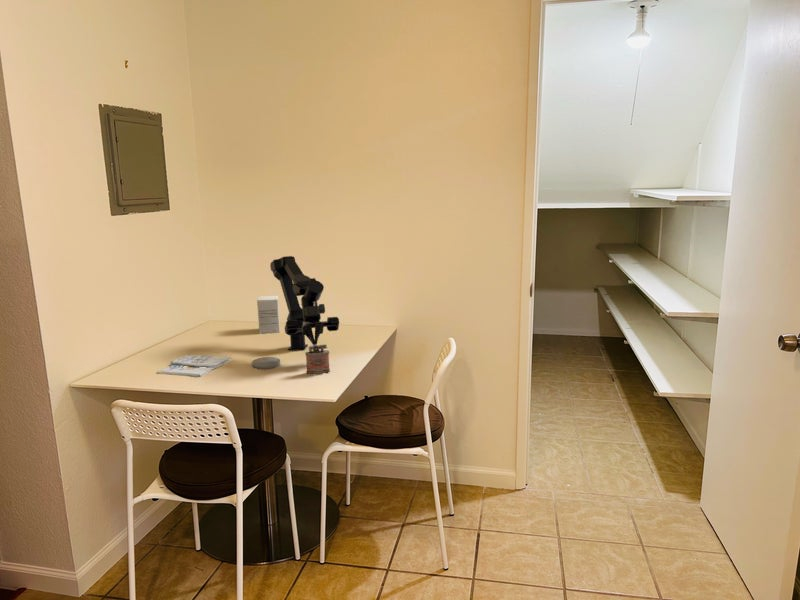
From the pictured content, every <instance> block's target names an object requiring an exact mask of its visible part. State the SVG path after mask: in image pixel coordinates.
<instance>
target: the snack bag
mask: <svg viewBox="0 0 800 600" xmlns="http://www.w3.org/2000/svg"><path fill="white" fill-rule="evenodd" d="M231 360H232V359H230V357H229V356H212V355H193V354H192V355H191V354H186V355H184V356H180V357H179V358H177V359H174V360H172V361H170V365H168V367H165V368H163V369H160V370H158V371H156V374H159V373H167V374H166V375H172V374H179V375H178V376H184V375H188V377H192V376H195V377H196V378H199V377H200V378H201V377H203V376H204V374H205V375H207V374H208V373H210V372H212V371H214V370H216V369H218V368H220V367H222V366H223V364H224V365H226V364H228V363H230V362H231ZM229 361H230V362H229ZM227 362H228V363H227ZM225 363H226V364H225ZM221 365H222V366H221ZM184 366H189V367H192V366H194V367H193V368H194V369H184V368H183V367H184ZM219 366H220V367H219ZM198 367H206V368H198ZM217 367H218V368H217ZM215 368H216V369H215ZM213 369H214V370H213ZM211 370H212V371H211ZM209 371H210V372H209ZM207 372H208V373H207ZM206 373H207V374H206ZM202 375H203V376H202Z"/></svg>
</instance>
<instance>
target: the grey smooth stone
mask: <svg viewBox="0 0 800 600" xmlns="http://www.w3.org/2000/svg"><path fill="white" fill-rule="evenodd" d="M279 366H281V359H280V358H279V357H276V356H264V357H262V356H261V357H258V358H255V359H253V360H252V361H251V367H252V369H255V368H257V369H256V370H270V369H275V368H278V367H279Z"/></svg>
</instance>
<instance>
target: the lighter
mask: <svg viewBox="0 0 800 600" xmlns="http://www.w3.org/2000/svg"><path fill="white" fill-rule="evenodd" d="M327 348H328V345H327V344H326V343H325V344H319V345H318V343H317V344H315V345H314V346H313V345H308V351H305V353H304V354H305V361H306V363H305V364H306V371H305V372H306V375H307V374H317V375H324V374H323V373H326V374H329V373H328V372H330V373H331V370H330V350H329V349H328V350H325V349H327Z"/></svg>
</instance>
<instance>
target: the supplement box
mask: <svg viewBox="0 0 800 600" xmlns="http://www.w3.org/2000/svg"><path fill="white" fill-rule="evenodd" d="M256 303H257V318H258V332H259V334H260V333H261V334H274V333H280V331H281V324H280V307H279V296H278V295H261V296H260V295H259V296H258V297H257V300H256Z"/></svg>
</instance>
